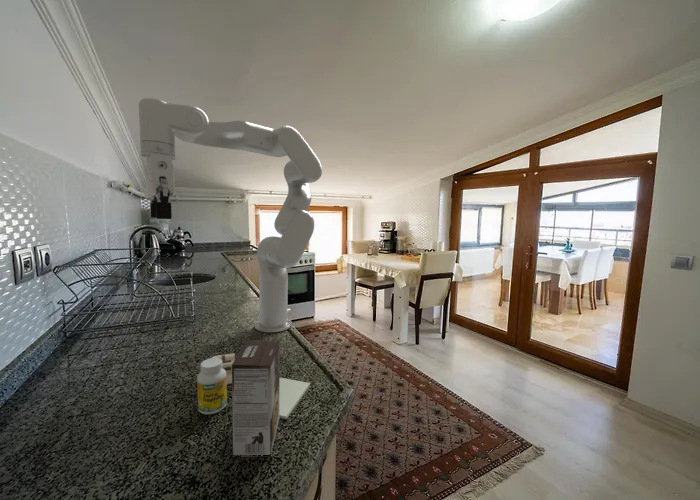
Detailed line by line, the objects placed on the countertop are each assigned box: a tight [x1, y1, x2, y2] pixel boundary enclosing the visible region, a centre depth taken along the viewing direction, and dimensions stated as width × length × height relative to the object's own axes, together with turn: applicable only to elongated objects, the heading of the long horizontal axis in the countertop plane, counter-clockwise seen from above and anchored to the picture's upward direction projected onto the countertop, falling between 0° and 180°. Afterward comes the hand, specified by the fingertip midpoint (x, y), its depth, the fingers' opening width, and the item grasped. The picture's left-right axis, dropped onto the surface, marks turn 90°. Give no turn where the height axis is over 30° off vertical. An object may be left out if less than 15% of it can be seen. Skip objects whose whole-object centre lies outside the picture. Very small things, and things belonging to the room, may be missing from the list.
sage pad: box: [279, 377, 311, 420], centre depth 64 cm, size 12×12×1 cm
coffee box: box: [231, 339, 281, 457], centre depth 52 cm, size 9×6×16 cm
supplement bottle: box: [196, 357, 228, 415], centre depth 60 cm, size 5×5×10 cm
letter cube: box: [211, 353, 236, 385], centre depth 70 cm, size 5×5×5 cm
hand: (160, 218), depth 78 cm, fingers open, 9 cm apart
